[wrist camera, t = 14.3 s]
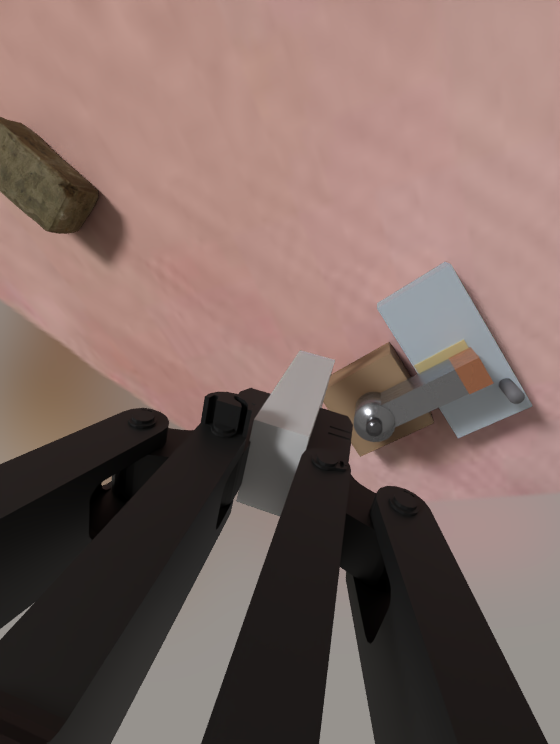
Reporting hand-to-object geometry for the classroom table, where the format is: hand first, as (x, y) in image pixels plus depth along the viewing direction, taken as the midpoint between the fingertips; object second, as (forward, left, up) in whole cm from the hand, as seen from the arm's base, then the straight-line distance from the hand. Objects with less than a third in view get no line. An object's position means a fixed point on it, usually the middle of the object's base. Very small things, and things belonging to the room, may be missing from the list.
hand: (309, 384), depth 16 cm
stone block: (+20, -28, -25) cm, 42 cm away
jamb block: (+3, +10, -24) cm, 27 cm away
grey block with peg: (-6, +10, -24) cm, 27 cm away
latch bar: (-1, +10, -20) cm, 23 cm away
